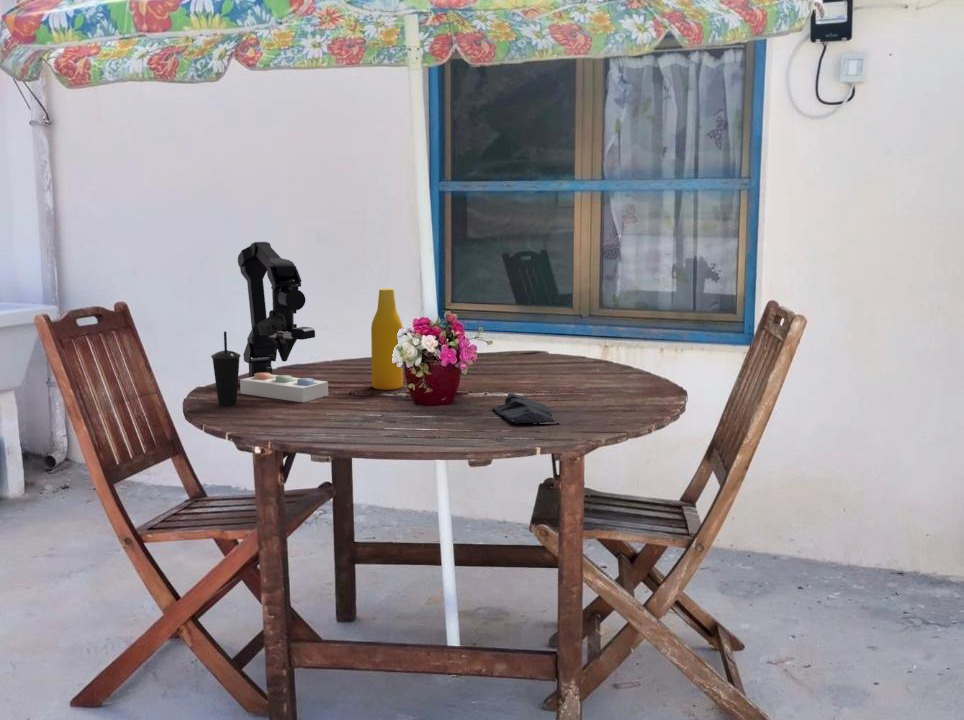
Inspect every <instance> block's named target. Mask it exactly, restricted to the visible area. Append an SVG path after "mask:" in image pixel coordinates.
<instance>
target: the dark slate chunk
mask: <svg viewBox="0 0 964 720" xmlns="http://www.w3.org/2000/svg"><path fill="white" fill-rule="evenodd" d="M491 409H492V410H493V411H494V410H495V412H496V413H497V414H498V415H499V417H503V418H504V419H505V420H507V421H508V420H509V422H510V421H511V422H510V423H512V422H513V423H512V424H515V423H516V424H515V425H520V424H519V423H545V422H554V421H556V420H554V419H553V418H552V413H553V412H552V411H551V409H550V408H549V407H548V406H547V405H546V404H544V403H541V402H539V401H535V400H533V399H531V398H529V397H526V396H522V395H520V394H519V395H518V394H516V393H512V392H510V393H508V394H507V396H506V397H505V400H504V404H502V405H501V404H499V405H495V406H492V408H491ZM551 412H552V413H551Z"/></svg>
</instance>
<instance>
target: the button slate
mask: <svg viewBox="0 0 964 720" xmlns="http://www.w3.org/2000/svg"><path fill="white" fill-rule="evenodd" d="M299 378H300V379H297V385H302V386H309V385H313V384H314V380H315V378H312V377H302V378H301V377H299Z"/></svg>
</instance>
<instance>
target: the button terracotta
mask: <svg viewBox="0 0 964 720" xmlns="http://www.w3.org/2000/svg"><path fill="white" fill-rule="evenodd" d="M254 379H258V380H267V379H271V373H265V372H262V373H255V374H254Z"/></svg>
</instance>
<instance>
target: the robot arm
mask: <svg viewBox="0 0 964 720" xmlns="http://www.w3.org/2000/svg"><path fill="white" fill-rule="evenodd" d="M271 246H272V245H271V243H270V242H267V241H254V242H252V243H251V244H250V246H247V247H245V248H244V249H242V250H241V251H240V253H239V254H238V255H237V263H238V267H239V269H240V274H241V275H242V276H243V278H244V279H245V280H246V282H247V291H248V293H247V295H248V301H249V303H248V304H249V310H250V311H249V313H250V314H249V315H250V324H251V330H250V332H249V334H248V335H247V338H246V339H247V342H246V346H245V349H244V351H243V361H244V363H247V364H248V373H249V374H248V378H250V377H254V374H255V373H262V372H265V373H271V374H272V375H273V366H272V362H277V360H276V359H277V356H278V355H277V353H278V354H279V356H280V359H281V362H287V361H288V358H289V357H290V354H291V352H292V350H293V347H294V346H295V344H296V342H297V340H300V341H302V340H303V341H304V340H308V339H312V338H316V330H315V329H314V328H313V327H308V326H301V327H300V326H299V327H297V326H298V325H297V323H294V322H295V321H294V314H297V311H300V310H301V309H302V308H303V307H304V306H305V304H306V296H305V294H304V293H303V291H302V290H299V288H301V287H302V278H301V276H300V273H299V271H298V269H297V266H296V265H295V263H294V262H293V261H291V260H290V259H286V258H283V257H281V256H280V255H279V254H278V253H277V252H276V251H275V250H274V249H273V248H272V247H271ZM265 276H267V278H268V281H269V282H270V286H271V287H270V288H271V290H272V292H271V294H272V296H271V297H272V299H271V300H272V309H271V310H269V312H268V317H267V308H266V299H265V288H264V287H265V286H264V278H265Z"/></svg>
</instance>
